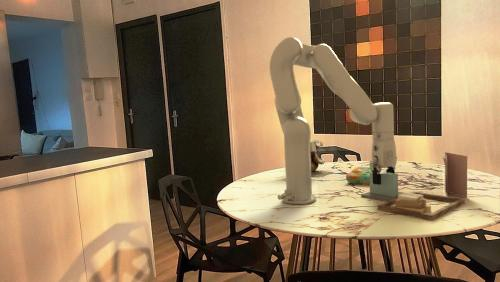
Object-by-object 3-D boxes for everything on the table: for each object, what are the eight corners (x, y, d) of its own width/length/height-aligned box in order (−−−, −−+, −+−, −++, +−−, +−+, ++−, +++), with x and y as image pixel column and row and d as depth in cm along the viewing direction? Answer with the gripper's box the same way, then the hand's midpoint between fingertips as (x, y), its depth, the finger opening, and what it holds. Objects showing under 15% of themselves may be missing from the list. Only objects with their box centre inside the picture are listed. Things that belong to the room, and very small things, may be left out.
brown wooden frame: (431, 220, 124) (431, 215, 124) (377, 209, 138) (377, 205, 138) (464, 203, 140) (464, 199, 139) (413, 195, 153) (413, 191, 153)
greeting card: (442, 190, 157) (442, 152, 156) (464, 191, 155) (464, 152, 153) (444, 198, 147) (444, 157, 145) (467, 199, 144) (468, 157, 142)
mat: (390, 201, 146) (390, 199, 146) (361, 196, 155) (361, 194, 155) (407, 195, 154) (407, 193, 154) (378, 190, 163) (378, 188, 163)
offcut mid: (421, 209, 129) (421, 203, 129) (395, 206, 134) (395, 200, 134) (426, 204, 134) (426, 198, 134) (401, 202, 139) (401, 196, 139)
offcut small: (416, 202, 130) (416, 198, 130) (398, 200, 134) (398, 195, 134) (423, 199, 133) (423, 195, 133) (405, 196, 138) (405, 192, 138)
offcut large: (421, 218, 129) (420, 210, 128) (391, 212, 136) (391, 205, 136) (430, 213, 133) (430, 205, 133) (401, 208, 141) (401, 201, 140)
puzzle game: (346, 173, 177) (355, 165, 195) (346, 184, 178) (355, 175, 196) (374, 174, 172) (381, 166, 190) (374, 185, 173) (381, 176, 190)
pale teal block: (393, 196, 150) (393, 175, 149) (369, 192, 157) (369, 172, 156) (398, 195, 152) (397, 173, 151) (374, 191, 159) (373, 170, 158)
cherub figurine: (336, 172, 204) (334, 136, 202) (317, 179, 191) (316, 140, 188) (305, 169, 216) (304, 135, 213) (286, 175, 202) (284, 139, 200)
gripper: (379, 139, 144) (380, 187, 146) (404, 134, 155) (405, 179, 157) (360, 138, 149) (361, 184, 151) (386, 133, 161) (387, 176, 163)
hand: (383, 181), depth 154 cm, fingers open, 9 cm apart
